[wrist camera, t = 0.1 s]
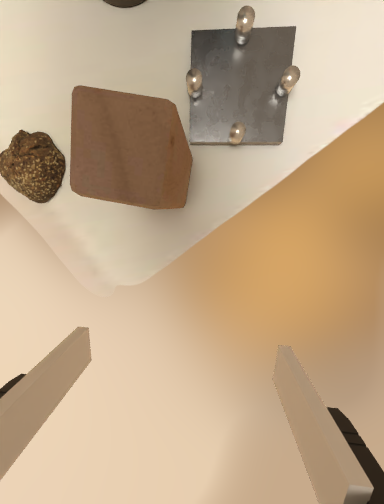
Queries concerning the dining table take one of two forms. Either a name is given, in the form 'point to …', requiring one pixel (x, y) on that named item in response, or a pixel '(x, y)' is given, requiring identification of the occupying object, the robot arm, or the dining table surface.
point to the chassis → (240, 83)
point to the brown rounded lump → (33, 166)
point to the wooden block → (128, 149)
